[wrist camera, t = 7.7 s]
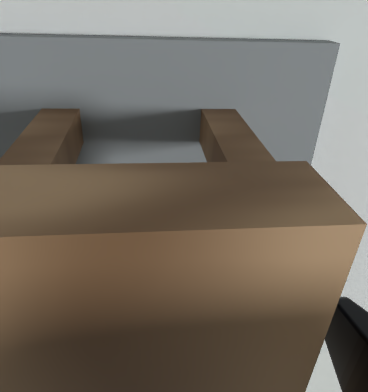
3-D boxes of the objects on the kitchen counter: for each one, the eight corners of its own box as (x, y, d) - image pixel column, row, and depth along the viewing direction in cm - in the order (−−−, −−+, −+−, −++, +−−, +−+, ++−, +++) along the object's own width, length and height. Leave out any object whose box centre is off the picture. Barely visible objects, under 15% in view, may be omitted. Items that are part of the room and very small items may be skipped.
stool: (246, 98, 10) (367, 224, 5) (221, 297, 14) (270, 485, 9) (28, 97, 9) (-122, 241, 4) (68, 306, 13) (20, 514, 8)
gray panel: (269, 308, 16) (273, 319, 15) (11, 324, 14) (7, 336, 14) (329, 40, 10) (340, 43, 9) (-85, 31, 9) (-98, 34, 8)
